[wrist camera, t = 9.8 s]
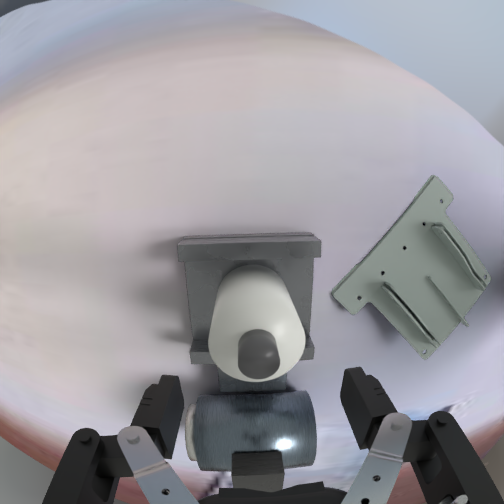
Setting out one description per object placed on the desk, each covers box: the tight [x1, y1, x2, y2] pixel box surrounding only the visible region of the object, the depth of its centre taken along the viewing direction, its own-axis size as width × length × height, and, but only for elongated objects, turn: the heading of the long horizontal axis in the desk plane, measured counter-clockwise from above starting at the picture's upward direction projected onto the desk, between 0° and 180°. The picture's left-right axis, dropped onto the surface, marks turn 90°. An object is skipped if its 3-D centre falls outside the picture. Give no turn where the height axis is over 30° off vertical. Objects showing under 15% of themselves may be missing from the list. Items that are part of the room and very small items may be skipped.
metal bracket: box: [332, 175, 491, 360], centre depth 23 cm, size 14×6×15 cm
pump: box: [208, 265, 305, 382], centre depth 18 cm, size 6×6×9 cm
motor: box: [177, 233, 321, 492], centre depth 20 cm, size 11×22×10 cm, turn 1°
